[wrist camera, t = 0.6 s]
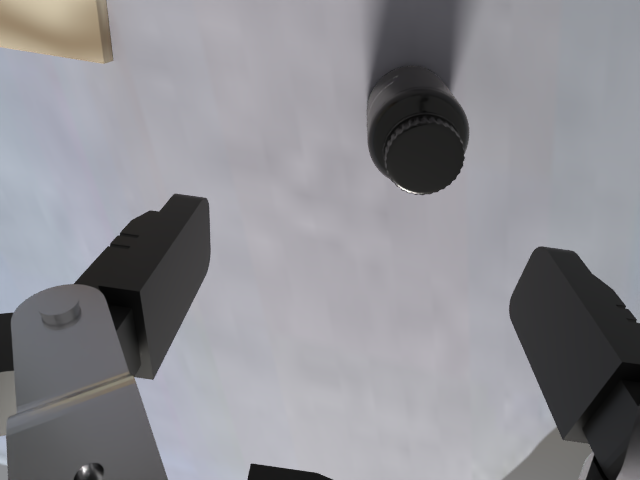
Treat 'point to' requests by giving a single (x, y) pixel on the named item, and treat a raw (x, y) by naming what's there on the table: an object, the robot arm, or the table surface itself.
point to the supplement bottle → (416, 130)
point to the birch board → (57, 28)
